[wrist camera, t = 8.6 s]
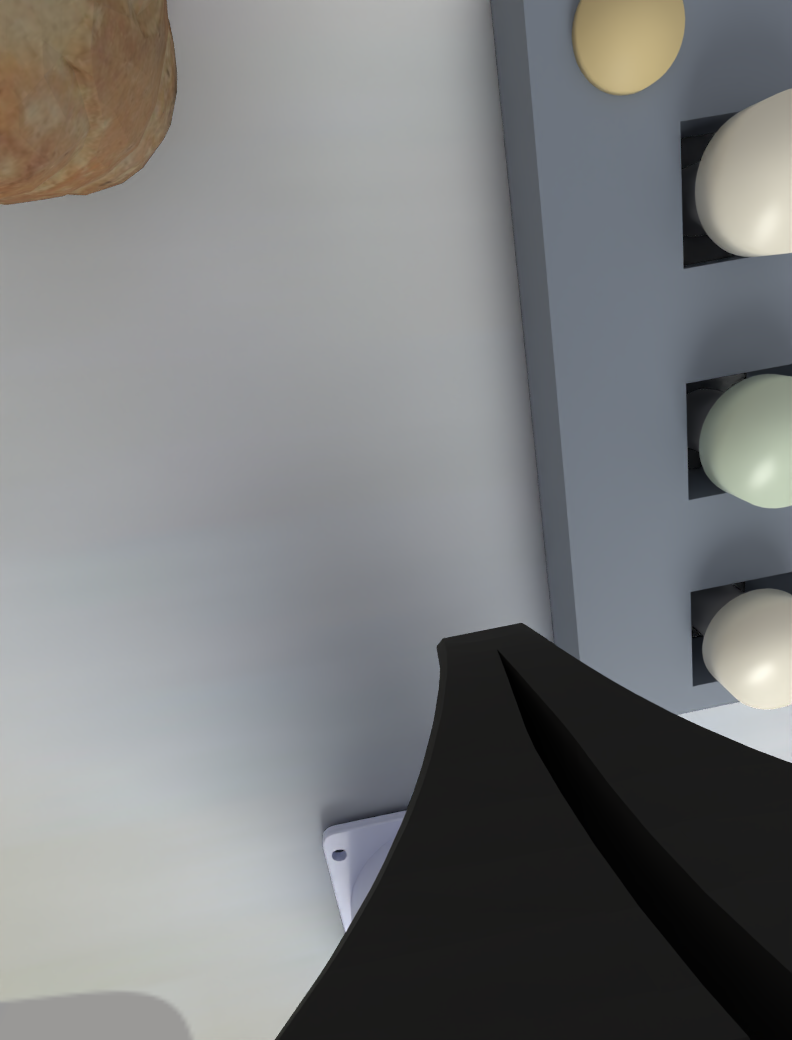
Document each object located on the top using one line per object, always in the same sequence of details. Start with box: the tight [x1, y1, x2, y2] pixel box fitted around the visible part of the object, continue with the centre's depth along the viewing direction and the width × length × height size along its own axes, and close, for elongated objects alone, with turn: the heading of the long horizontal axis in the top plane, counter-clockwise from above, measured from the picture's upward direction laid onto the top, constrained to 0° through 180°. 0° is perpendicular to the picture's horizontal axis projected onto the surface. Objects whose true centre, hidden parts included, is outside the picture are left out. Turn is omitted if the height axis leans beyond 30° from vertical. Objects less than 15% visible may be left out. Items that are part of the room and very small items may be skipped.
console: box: [491, 0, 792, 715], centre depth 18 cm, size 20×10×3 cm, turn 10°
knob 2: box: [691, 584, 792, 709], centre depth 20 cm, size 3×3×4 cm
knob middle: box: [686, 374, 792, 508], centre depth 18 cm, size 3×3×4 cm
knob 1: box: [681, 89, 792, 257], centre depth 16 cm, size 3×3×4 cm
